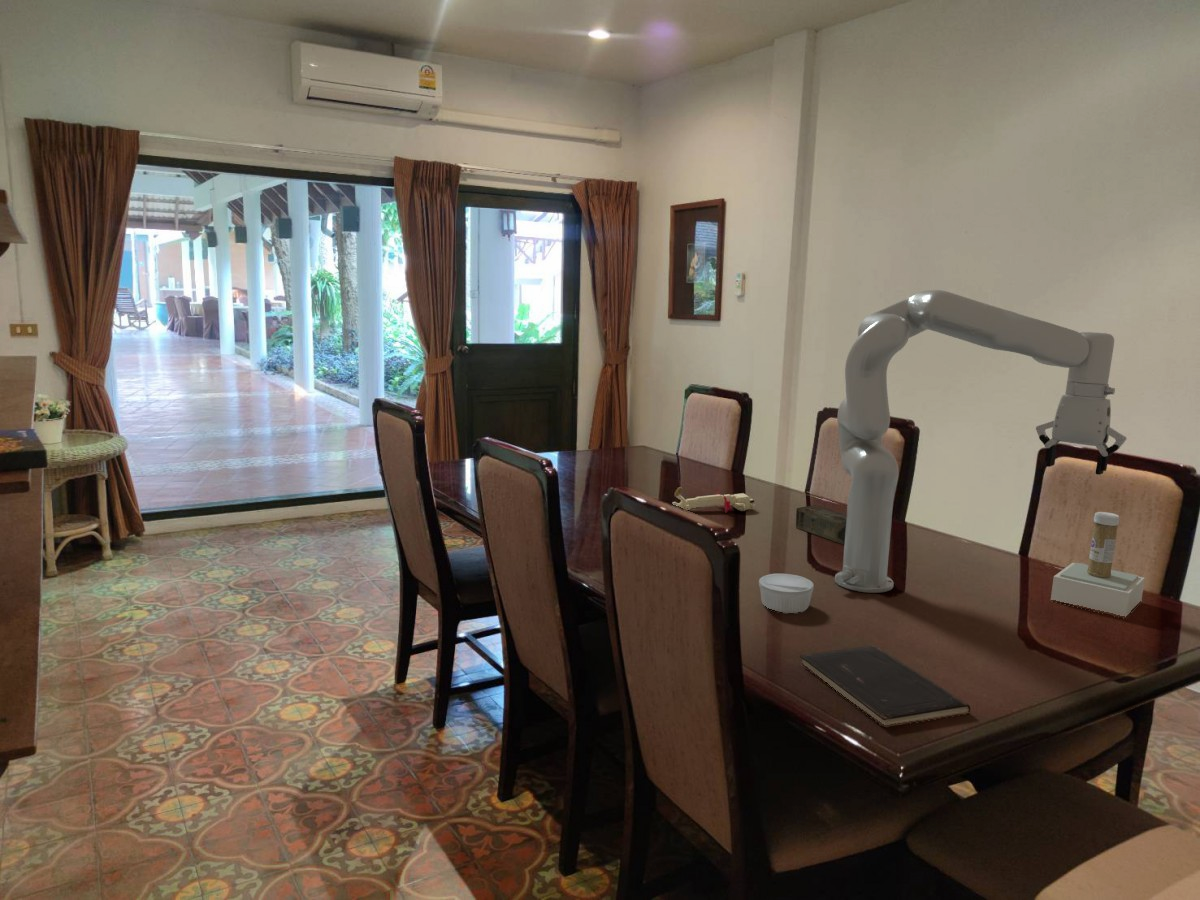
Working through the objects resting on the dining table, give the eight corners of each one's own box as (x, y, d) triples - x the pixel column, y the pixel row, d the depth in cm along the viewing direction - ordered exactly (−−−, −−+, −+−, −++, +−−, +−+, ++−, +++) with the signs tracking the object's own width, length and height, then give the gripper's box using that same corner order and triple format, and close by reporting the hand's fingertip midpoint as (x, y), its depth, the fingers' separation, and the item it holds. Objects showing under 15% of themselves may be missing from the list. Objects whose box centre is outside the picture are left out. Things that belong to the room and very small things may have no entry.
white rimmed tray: (1125, 618, 169) (1129, 590, 168) (1050, 600, 178) (1053, 574, 177) (1141, 602, 179) (1145, 575, 178) (1069, 585, 188) (1072, 560, 187)
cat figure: (679, 520, 243) (760, 511, 247) (678, 492, 241) (759, 483, 245) (670, 512, 252) (748, 503, 257) (669, 484, 250) (747, 476, 255)
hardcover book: (882, 732, 123) (884, 718, 123) (798, 667, 144) (799, 654, 144) (969, 717, 128) (971, 703, 128) (876, 656, 149) (877, 644, 149)
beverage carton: (844, 546, 216) (846, 522, 215) (793, 528, 232) (794, 505, 231) (866, 542, 220) (868, 518, 219) (814, 525, 236) (816, 503, 235)
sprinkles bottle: (1081, 571, 179) (1089, 511, 177) (1101, 571, 180) (1109, 511, 177) (1096, 578, 175) (1104, 516, 173) (1116, 578, 175) (1125, 516, 173)
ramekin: (772, 618, 165) (774, 593, 165) (748, 598, 176) (749, 575, 175) (822, 613, 168) (824, 589, 168) (795, 595, 179) (797, 571, 178)
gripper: (1137, 394, 173) (1124, 475, 176) (1048, 386, 185) (1037, 461, 188) (1127, 396, 167) (1114, 479, 171) (1036, 387, 179) (1025, 464, 183)
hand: (1074, 469), depth 179 cm, fingers open, 9 cm apart
